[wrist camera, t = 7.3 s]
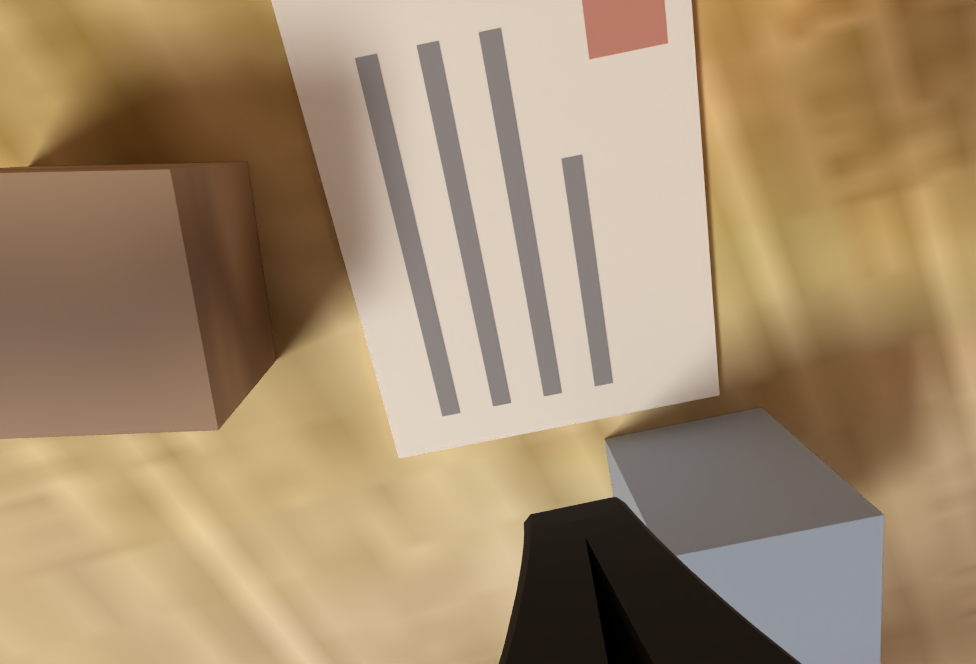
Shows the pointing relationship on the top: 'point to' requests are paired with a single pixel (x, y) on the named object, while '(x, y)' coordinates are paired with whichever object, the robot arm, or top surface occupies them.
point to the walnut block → (129, 298)
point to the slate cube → (762, 529)
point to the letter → (513, 205)
